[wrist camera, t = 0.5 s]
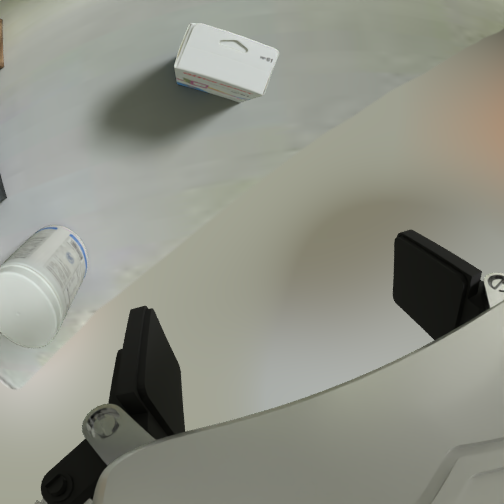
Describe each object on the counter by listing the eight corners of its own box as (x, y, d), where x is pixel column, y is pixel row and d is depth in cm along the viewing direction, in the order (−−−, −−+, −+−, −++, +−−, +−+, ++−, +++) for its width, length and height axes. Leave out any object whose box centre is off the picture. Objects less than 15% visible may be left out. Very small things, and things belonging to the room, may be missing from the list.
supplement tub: (28, 273, 36) (-17, 331, 23) (37, 213, 34) (-19, 257, 21) (84, 294, 40) (55, 362, 27) (97, 235, 37) (61, 290, 24)
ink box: (174, 86, 32) (170, 67, 22) (188, 49, 31) (190, 18, 20) (241, 105, 35) (265, 96, 24) (254, 69, 33) (283, 48, 23)
